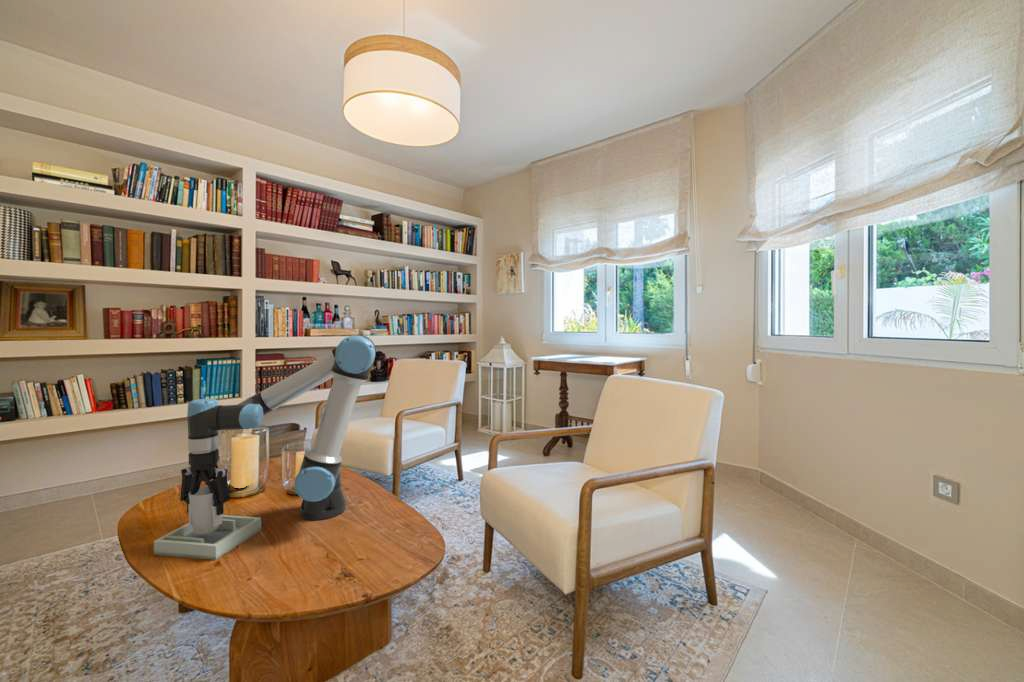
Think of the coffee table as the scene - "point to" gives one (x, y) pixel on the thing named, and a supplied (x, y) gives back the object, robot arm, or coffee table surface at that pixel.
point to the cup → (202, 511)
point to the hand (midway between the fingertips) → (205, 523)
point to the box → (208, 539)
